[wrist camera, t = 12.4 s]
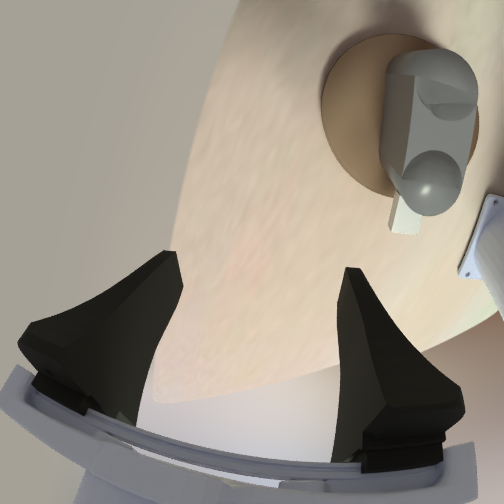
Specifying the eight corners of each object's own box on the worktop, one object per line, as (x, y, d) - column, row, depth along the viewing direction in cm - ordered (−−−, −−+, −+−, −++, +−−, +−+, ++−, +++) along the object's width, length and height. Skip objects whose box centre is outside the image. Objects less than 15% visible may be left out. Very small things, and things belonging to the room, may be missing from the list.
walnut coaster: (479, 61, 11) (485, 62, 10) (456, 203, 17) (460, 208, 17) (322, 22, 13) (322, 20, 12) (316, 184, 19) (316, 189, 18)
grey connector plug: (386, 46, 12) (415, 39, 8) (439, 60, 11) (480, 62, 7) (369, 208, 18) (384, 250, 14) (415, 214, 18) (439, 256, 14)
